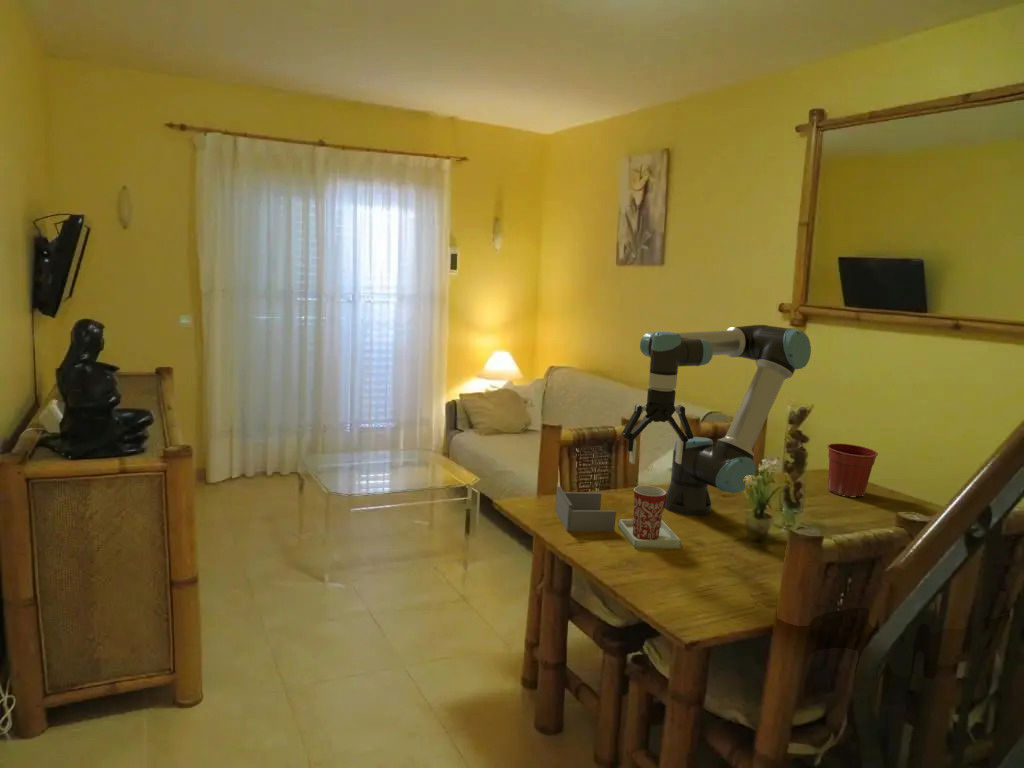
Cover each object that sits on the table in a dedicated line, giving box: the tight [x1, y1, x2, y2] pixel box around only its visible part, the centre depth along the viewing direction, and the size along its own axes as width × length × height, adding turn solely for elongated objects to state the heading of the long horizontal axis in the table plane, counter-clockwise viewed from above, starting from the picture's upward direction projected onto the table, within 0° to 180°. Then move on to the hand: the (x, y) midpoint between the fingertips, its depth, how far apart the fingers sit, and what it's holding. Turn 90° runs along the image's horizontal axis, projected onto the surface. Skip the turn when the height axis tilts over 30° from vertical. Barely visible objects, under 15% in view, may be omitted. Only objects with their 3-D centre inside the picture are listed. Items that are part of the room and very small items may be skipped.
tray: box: [617, 518, 682, 549], centre depth 208 cm, size 13×16×2 cm
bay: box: [554, 486, 617, 532], centre depth 217 cm, size 14×17×8 cm
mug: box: [632, 485, 667, 540], centre depth 207 cm, size 13×9×14 cm
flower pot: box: [827, 443, 879, 496], centre depth 260 cm, size 16×16×16 cm
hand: (655, 462), depth 205 cm, fingers open, 13 cm apart
